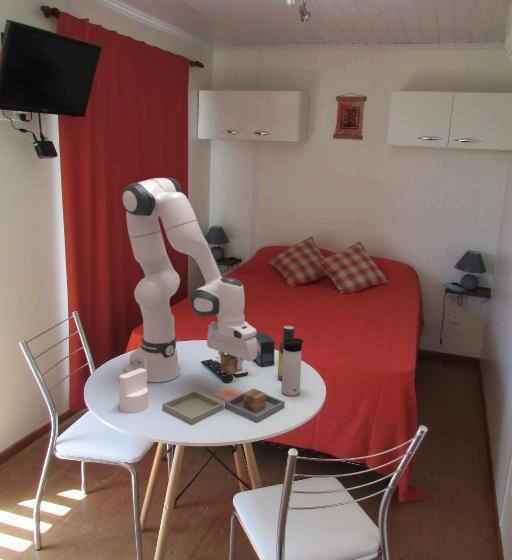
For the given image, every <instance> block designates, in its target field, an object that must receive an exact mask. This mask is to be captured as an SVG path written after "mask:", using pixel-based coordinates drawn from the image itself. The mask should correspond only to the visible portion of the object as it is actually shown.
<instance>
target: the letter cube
mask: <svg viewBox="0 0 512 560" xmlns="http://www.w3.org/2000/svg"><path fill="white" fill-rule="evenodd" d="M236 363H238V360H237V357H235V356H232V355H229V354H226V353H225V355H224V356H221V358H220V372H223V373H226V374H229V375H231V376H232V375H234V374H237V373H239V372H240V371H242V370H243V367H242V368H241V369H239V370H238V369H236V368H235V364H236Z"/></svg>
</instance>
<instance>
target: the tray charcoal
mask: <svg viewBox="0 0 512 560" xmlns="http://www.w3.org/2000/svg"><path fill="white" fill-rule="evenodd" d="M253 389H254V388H251V389H249V390H247V391H245V392H244V393H246V392H248V391H251V390H253ZM244 393H243V394H241V395H239V396H237V397H235V398H233V399H231V400H228V401H225V402H224V409H226V410H228V411H230V412H232V413H234V414H237V415H239V416H241V417H243V418H246V419H247V420H250V421H252V422H254V423H256V424H257V423H259V422H262V421H264V420H265V419H267V418H268V417H270V416H271V415H273V414H275V413H277V412H278V411H281V410H283V409H284V408H285V407H286V406H285V403H286V401H285V400H282V399H279V398H277V397H274V396H272V395H269V394H267V393H266V408H264V409H262V410H260V411H258V412H256V413H255V412H252V411H250V410H248V409H245V408H244Z"/></svg>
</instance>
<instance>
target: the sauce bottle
mask: <svg viewBox="0 0 512 560" xmlns="http://www.w3.org/2000/svg"><path fill="white" fill-rule="evenodd" d="M282 330H283V337H282V340H281V341H280V343H279V348H278V349H279V351H278V362H277V363H278V364H277V378H278V380H280V381H282V370H283V348H284V341H285V340H287V339H291V338H295V335H294V334H295V327H294V326H291V325H285V326H283V329H282Z"/></svg>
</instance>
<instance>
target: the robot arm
mask: <svg viewBox="0 0 512 560" xmlns="http://www.w3.org/2000/svg"><path fill="white" fill-rule="evenodd" d="M121 203H122V205H123V208H124V209H125V211H126V213H125V214H126V216H125V217H126V225H127V226H126V227H127V231H128V236H129V240H130V243H131V249H132V253H133V256H134V260H135V261H136V262H137V263H139V265H140V267H141V269H142V271H143V273H144V277H143V278H141V279H140V281H139V282H138V283H137V285H136V287H135V288H134V292H133V293H134V294H133V295H134V299H135V302H136V303H137V304H138V305H139V308H140V313H141V315H142V321H143V325H142V326H143V327H142V328H143V337H141V338H140V339H139V342H141V344H140V346H139V347H138V348H137V349H136V350H134V351H133V352H131V354H130V355H129V362H128V363H126V364H125V365H124V366H123V368H122V370H123V371H124V372H125V373H128V372H131V371H134V370H136V369H139V368H143V369H145V370H147V383H163V382H169V381H172V380H175V379H176V378H178V377H179V376H180V370H181V365H180V364H179V360H178V359H179V358H178V349H177V340H176V335H175V334H176V333H175V316H174V315H173V314H172V310H171V306H170V305H171V304H170V300H171V297H172V296H174V295H175V294H176V293H177V291H178V289H179V287H180V283H181V278H180V274H178V272H177V271H176V270H175V268H174V267H173V265H172V262H171V260H170V258H169V255H168V253H167V250H166V246H165V241H164V237H163V234H162V229H161V225H160V222H159V218H160V220H161V223H162V225H163V226H162V227H163V229H164V232H165V234H166V235H165V236H166V238H167V240H168V243H169V244H170V246H171V247H172V248H173V249H174V250H175V251H177V252H179V253H181V254H185V255H187V256H190V257H192V258H193V259H194V260H195V261H196V263H197V265H198V267H199V270H200V272H201V274H202V276H203V279H204V282H205V283H204V284H205V285H203V286H200V287H199V288H197V289H195V290H194V291H193V292H192V293H191V295H190V297H189V305H190V307H191V309H192V311H193V312H194V313H195V314H196V315H198V316H199V317H213V316H216V317H217V322H216V321H211V322H210V323H209V324H208V330H207V336H206V345H207V347H208V348H209V349H212V350H215V351H217V353H218V356H219V358H220V359H221V356H224V355H226V354H229V355H232V356H235V357H237V360H238V363H236V364H235V368H236V369H238V370H239V369H241V368H242V369H243V363H244V361H246V362H252V361H253V360H254V359H255V358H256V357H257V340H256V338H255V337H254V336H255V335H256V334H257V333H258V332H257V329H256V328H255V327H253V326H252V325H251V324H249V322H247V321H246V320H245V318H246V317H245V314H244V309H245V304H246V303H245V302H246V301H245V299H246V298H245V290H244V285H243V283H242V282H241V281H240V280H239V279H237V278H234V277H227V276H225V277H224V275H223V273H222V270H221V268H220V266H219V264H218V262H217V260H216V257H215V255H214V253H213V250H212V248H211V246H210V245H209V242H208V241H207V240H206V238H205V237H204V234H203V231H202V229H201V227H200V225H199V221H198V219H197V216H196V213H195V211H194V208H193V206H192V204H191V202H190V201H189V199H188V198H187V196H186V194H184V193H183V190H182V186H181V184H180V182H179V181H178V180H177V179H175V178H173V177H168V176H162V177H156V178H155V177H154V178H148V179H146V180H141V181H139V182H133V183H131V184H128V185H126V186H125V187H124V188H123V190H122V192H121Z"/></svg>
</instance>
